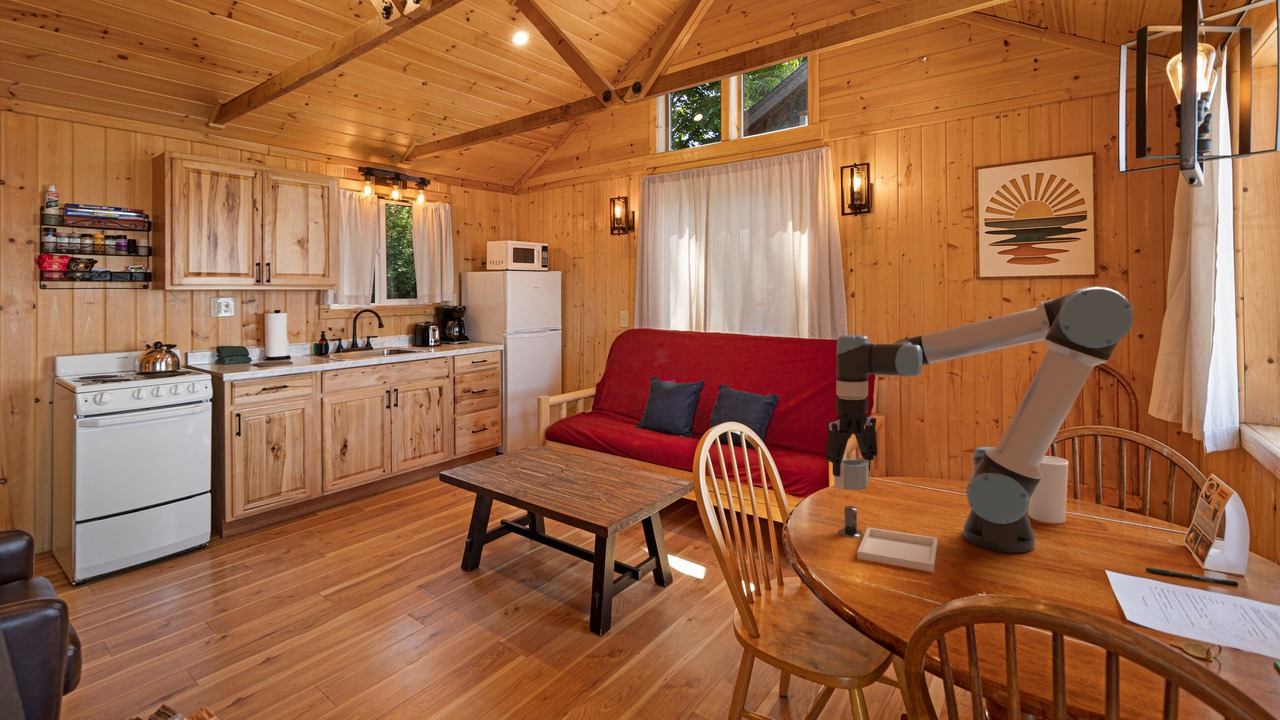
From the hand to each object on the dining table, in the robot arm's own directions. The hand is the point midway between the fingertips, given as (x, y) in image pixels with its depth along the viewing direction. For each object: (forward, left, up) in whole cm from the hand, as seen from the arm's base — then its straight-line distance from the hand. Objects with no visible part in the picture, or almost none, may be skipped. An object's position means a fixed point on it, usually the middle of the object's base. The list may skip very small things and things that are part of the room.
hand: (851, 485), depth 154 cm
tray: (-12, +7, -13) cm, 19 cm away
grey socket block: (0, 0, 0) cm, 0 cm away
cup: (-45, -33, -13) cm, 57 cm away
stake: (0, 0, -13) cm, 13 cm away
